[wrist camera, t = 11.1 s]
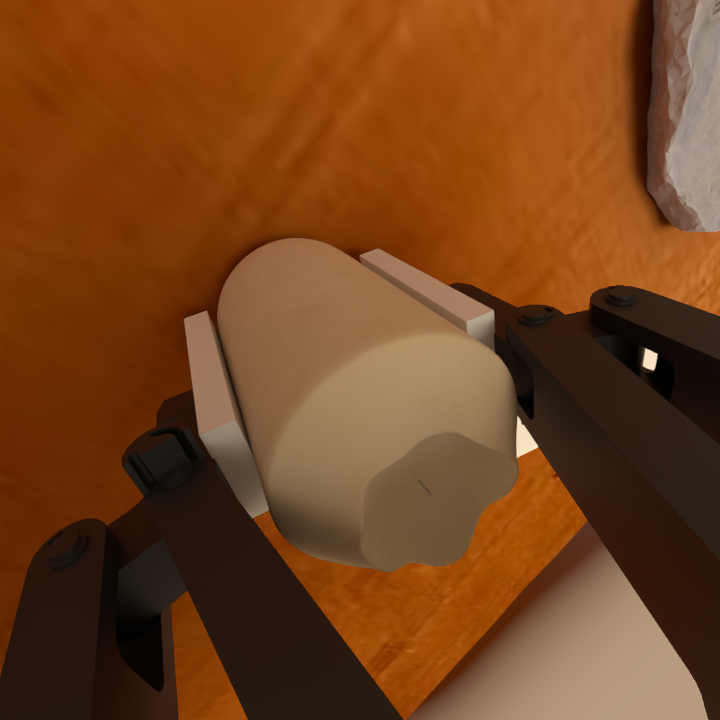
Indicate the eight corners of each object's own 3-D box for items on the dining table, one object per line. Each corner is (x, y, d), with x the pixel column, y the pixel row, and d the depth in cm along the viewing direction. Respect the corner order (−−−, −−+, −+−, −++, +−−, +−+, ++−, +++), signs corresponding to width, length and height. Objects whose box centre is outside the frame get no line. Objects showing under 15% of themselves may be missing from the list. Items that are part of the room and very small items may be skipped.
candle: (345, 212, 15) (578, 315, 7) (379, 347, 18) (568, 534, 9) (186, 269, 14) (226, 479, 5) (251, 403, 17) (340, 670, 8)
